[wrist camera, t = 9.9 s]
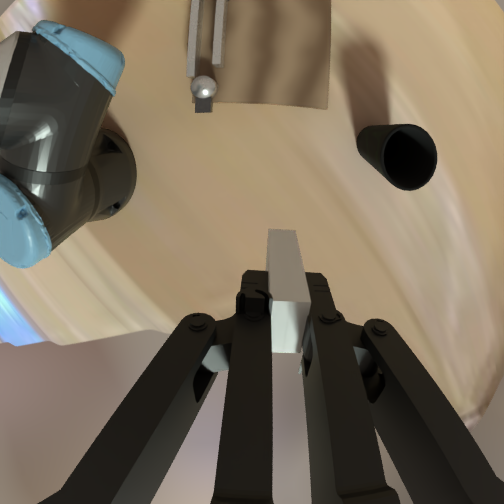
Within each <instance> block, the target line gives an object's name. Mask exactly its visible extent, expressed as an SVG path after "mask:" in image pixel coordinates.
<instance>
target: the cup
mask: <svg viewBox="0 0 504 504" xmlns="http://www.w3.org/2000/svg"><path fill="white" fill-rule="evenodd" d="M357 148H358V152H359V153H360V155H361V156H362V157H363V158H364V159H365V160H366V161H367V162H368V163H370V164H371V165H372V166H373V167H374V168H375V169H376V170H377V171H378V172H379V173H380V174H382V175H383V176H384V177H385V178H386V179H387V180H388V181H389V182H390V183H391V184H392V185H394V186H395V187H397V188H399V189H402V190H407V191H412V190H416V189H419V188H421V187H423V186H424V185H425V184H426V183H427V182H429V180H430V179H431V177H432V176H433V174H434V172H435V169H436V165H437V151H436V146H435V144H434V141H433V139H432V138H431V136H430V135H429V134H428V132H426V131H425V130H424V129H423V128H421V127H419V126H417V125H412V124H394V125H377V126H369V127H366V128H364V129H363V130H362V131H361V132H360V134H359V135H358V138H357Z"/></svg>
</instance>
